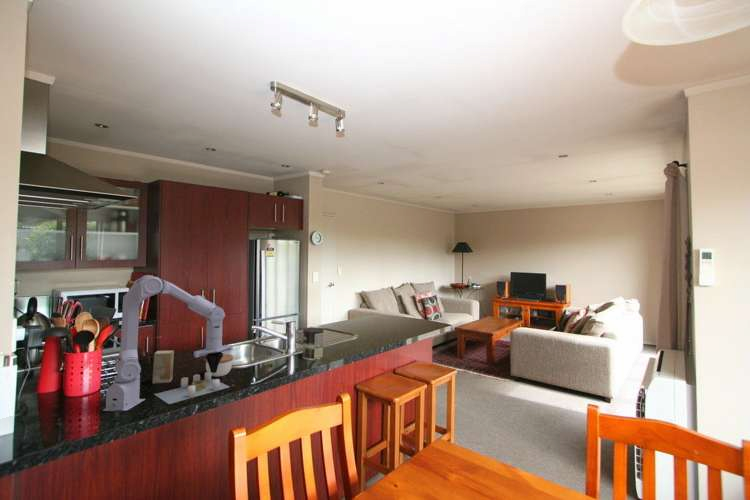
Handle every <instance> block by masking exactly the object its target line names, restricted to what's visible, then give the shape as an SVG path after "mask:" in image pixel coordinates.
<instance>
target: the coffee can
mask: <svg viewBox="0 0 750 500" xmlns="http://www.w3.org/2000/svg"><path fill="white" fill-rule="evenodd" d="M302 331H303V333H302V359H304V360H306V361H317V360H316V359H318V360H321V359H323V358H322V357H324V354H323V352H324V351H323V350H324V349H323V348H324V329H323V328H321V327H305V328H304V329H303V330H302ZM320 358H321V359H320Z"/></svg>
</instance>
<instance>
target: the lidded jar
mask: <svg viewBox="0 0 750 500" xmlns="http://www.w3.org/2000/svg"><path fill="white" fill-rule="evenodd" d="M233 359H234V356H233V355H232V354H228V353H223V357H222V358H221V360H220V362H219V365H218V368H217V372H215V373H212V372H211V371H210V367H209V364H208V361H207V359H206V358H205V369H206V372H211V377H215V378H216V377H224V376H226V375H228V374H229V373H230V371H231V370H232V367H233Z"/></svg>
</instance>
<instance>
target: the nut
mask: <svg viewBox="0 0 750 500" xmlns="http://www.w3.org/2000/svg"><path fill="white" fill-rule="evenodd" d="M191 385H195V391H202V390H204V389H206V382H205V379H204V380H200V381H195V382H193V381H192V382H191Z"/></svg>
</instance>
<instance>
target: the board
mask: <svg viewBox="0 0 750 500" xmlns="http://www.w3.org/2000/svg"><path fill="white" fill-rule="evenodd" d="M195 381H201V375H200V374H194V375H193V377H192V382H195ZM204 381H205V382H206V389H204V390H202V391H195V385H192V384H189V377H188V376H187V377H182V378H181V379H180V387H177V388H174V389H170V390H166V391H162V392H157V393H154V396H156V397H157V398H159V399H160V400H162V401H163V402H165V403H166V404H168V405H172V404H174V403H178V402H182V401H186V400H189V399H191V398H192V399H193V398H196V397H199V396H203V395H208V394H211V393H213V392H218V391H220V390H225V389H228V388H230V386H229V385H227V384H225V383H223V382H221V380H220V379H219V378H215V379H214V378H212V376H211V372H207V371H206V372H204Z"/></svg>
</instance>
